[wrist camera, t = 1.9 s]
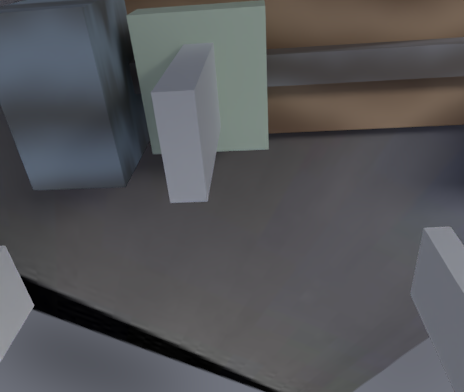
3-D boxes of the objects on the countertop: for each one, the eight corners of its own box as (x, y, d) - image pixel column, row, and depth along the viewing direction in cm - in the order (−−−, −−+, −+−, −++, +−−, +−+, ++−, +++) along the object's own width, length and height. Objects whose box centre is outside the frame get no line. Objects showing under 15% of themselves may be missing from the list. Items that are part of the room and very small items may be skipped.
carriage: (143, 5, 30) (63, 51, 18) (263, -4, 30) (271, 38, 17) (164, 129, 36) (114, 234, 23) (266, 124, 35) (274, 230, 22)
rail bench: (41, -5, 32) (-63, 22, 22) (733, -56, 28) (1019, -54, 18) (81, 135, 38) (16, 209, 28) (651, 108, 35) (826, 182, 24)
